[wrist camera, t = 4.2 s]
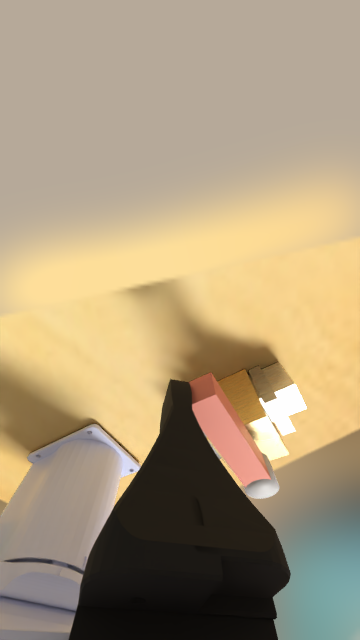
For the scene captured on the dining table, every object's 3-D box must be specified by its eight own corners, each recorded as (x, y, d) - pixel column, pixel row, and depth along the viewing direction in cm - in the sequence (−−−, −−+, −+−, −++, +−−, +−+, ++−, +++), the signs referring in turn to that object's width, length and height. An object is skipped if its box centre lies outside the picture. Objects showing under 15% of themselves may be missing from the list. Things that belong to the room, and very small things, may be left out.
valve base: (196, 428, 21) (202, 493, 16) (174, 400, 20) (172, 461, 15) (292, 389, 19) (333, 449, 14) (275, 354, 18) (314, 407, 12)
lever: (272, 465, 14) (283, 492, 13) (245, 474, 14) (252, 501, 13) (214, 370, 11) (219, 392, 9) (181, 385, 11) (181, 409, 10)
